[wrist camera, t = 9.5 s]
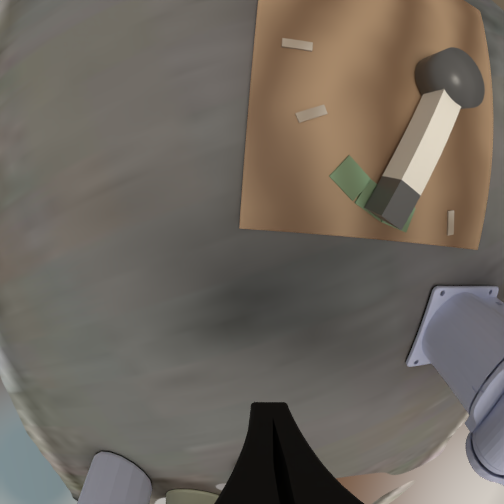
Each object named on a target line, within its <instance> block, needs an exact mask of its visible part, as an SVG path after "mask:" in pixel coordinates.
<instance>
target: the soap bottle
mask: <svg viewBox="0 0 504 504" xmlns="http://www.w3.org/2000/svg"><path fill="white" fill-rule="evenodd" d="M151 492H152V486H151V482H150V479H149V478H148V477H147V475H146V474H145V473H144V472H143V471H142V470H141V469H140V468H138V467H137V466H136V465H135V464H134V463H132V462H130V461H128V460H127V459H125V458H123V457H122V456H119V455H116V454H114V453H111V452H102V451H101V452H100V453H98V454H96V455H95V456H94V458H93V461H92V463H91V466H90V469H89V471H88V474H87V477H86V480H85V482H84V485H83V488H82V491H81V494H80V497H79V500H78V503H77V504H149V502H150V497H151Z"/></svg>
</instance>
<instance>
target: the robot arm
mask: <svg viewBox="0 0 504 504" xmlns="http://www.w3.org/2000/svg"><path fill="white" fill-rule="evenodd" d="M441 291H442V293H441ZM498 291H499V288H498V287H497V286H436V287H434V289H433V290H432V293H431V296H430V299H429V302H428V305H427V308H426V311H425V314H424V317H423V320H422V323H421V326H420V328H419V331H418V334H417V336H416V339H415V341H414V344H413V346H412V349H411V351H410V354H409V356H408V359H407V361H406V364H407V366H408V367H412V366H419V365H425V364H432V365H433V366H434V367H435V369H436V370H437V371H438V372H439V374H440V375H441V376H442V378H443V379H444V380H445V382H446V383H447V384H448V386H449V387H450V388H451V390H452V391H453V393H454V394H455V395H456V397H457V398H458V399H459V401H460V402H461V404H462V405H463V406H464V408H465V409H466V411H467V412H468V413H469V417H468V419H467V421H466V422H465V425H466V426H467V427H468V429H469V431H470V433H469V434H468V436H467V439H466V454H467V457H468V460H469V463H470V465H471V466H472V468H473V469H474V471H475V472H476V473H477V474H478V475H479V476H481V477H482V478H484V479H487V480H489V481H492V482H496V483H499V484H502V485H504V303H503V302H502V301H501V300H499V299H498V298H497V295H498ZM440 293H441V294H440ZM214 504H364V503H363V502H361V501H360V500H359V499H357V498H356V497H355V496H354V495H353V494H351V493H350V492H349V491H348V490H347V489H346V488H344V487H343V486H342V485H341V484H340V483H339V482H338V481H337V480H336V479H335V478H334V476H333V475H332V474H331V473H330V472H329V471H328V470H327V469H326V467H325V466H324V465H323V464H322V463H321V461H320V460H319V459H318V457H317V456H316V455H315V453H314V452H313V450H312V449H311V447H310V446H309V444H308V443H307V441H306V440H305V438H304V437H303V435H302V433H301V432H300V430H299V428H298V426H297V424H296V422H295V421H294V419H293V417H292V414H291V412H290V410H289V408H288V405H287V404H286V403H285V402H254V403H252V404H251V411H250V419H249V427H248V432H247V436H246V439H245V443H244V446H243V448H242V451H241V453H240V456H239V458H238V461H237V463H236V465H235V468H234V470H233V472H232V474H231V476H230V478H229V480H228V482H227V483H226V485H225V487H224V489H223V490H222V492H221V494H220V495H219V497H218V498H217V500H216V502H215V503H214Z"/></svg>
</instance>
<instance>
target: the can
mask: <svg viewBox="0 0 504 504" xmlns="http://www.w3.org/2000/svg"><path fill="white" fill-rule="evenodd" d="M218 497H219V495H217V494H214V493H210V492H206V491H201V490H194V489H174V490H170V491H168V492H167V493H166V504H214V503H215V502H216V500H217V498H218Z"/></svg>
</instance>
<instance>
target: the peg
mask: <svg viewBox="0 0 504 504" xmlns="http://www.w3.org/2000/svg"><path fill="white" fill-rule="evenodd" d="M415 78H416V83H417V86H418V89H419V91H420V93H421V94H422V98H421V100H420V102H419V104H418V106H417V109H416V111H415V113H414V115H413V117H412V119H411V121H410V123H409V125H408V127H407V129H406V131H405V133H404V135H403V137H402V139H401V141H400V143H399V145H398V147H397V149H396V151H395V153H394V155H393V157H392V159H391V160H390V162H389V164H388V166H387V168H386V170H385V172H384V173H383V175H382V177H381V179H380V181H379V183H378V184H377V186H376V188H375V190H374V192H373V193H372V195H371V197H370V199H369V200H368V202H367V204H366V206H365V207H364V208H365V209H367V210H368V211H370V212H371V213H373V214H374V215H376V216H377V217H378V218H380V219H381V220H383V221H385V222H387V223H388V224H390V225H392V226H394V227H396V228H398V229H400V230H402V229H403V227H404V225H405V223H406V222H407V220H408V218H409V216H410V214H411V213H412V211H413V209H414V207H415V205H416V204H417V202H418V200H419V198H420V196H421V194H422V192H423V190H424V188H425V186H426V184H427V182H428V180H429V178H430V176H431V174H432V172H433V170H434V168H435V166H436V164H437V162H438V160H439V158H440V156H441V153H442V151H443V149H444V147H445V145H446V142H447V140H448V138H449V135H450V133H451V131H452V128H453V126H454V124H455V121H456V119H457V116H458V114H459V111H460V109H466V108H475V107H478V106H479V105H480V104H481V103H482V101H483V99H484V94H485V86H484V81H483V77H482V74H481V72H480V70H479V68H478V66H477V65H476V63H475V62H474V60H473V59H472V58H471V57H470V56H469V55H468V54H467V53H466V52H464V51H463V50H461V49H459V48H455V47H450V48H447V49H445V50H442V51H440V52H437V53H435V54H433V55H430V56H428V57H426V58H423V59H422V60H420V61H419V62H418V64H417V66H416V70H415Z"/></svg>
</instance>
